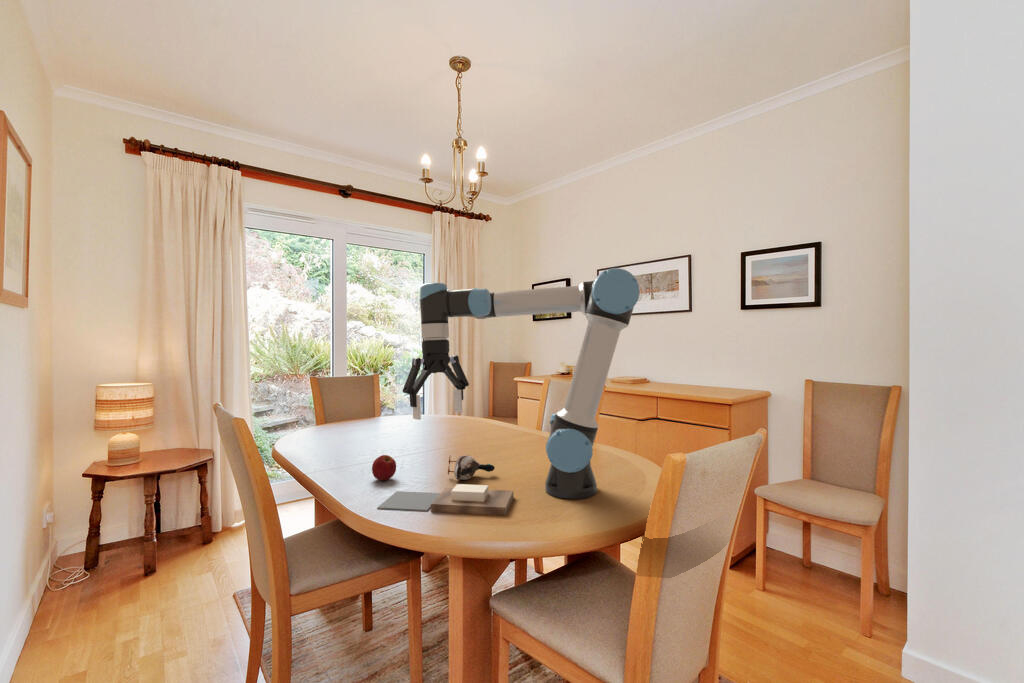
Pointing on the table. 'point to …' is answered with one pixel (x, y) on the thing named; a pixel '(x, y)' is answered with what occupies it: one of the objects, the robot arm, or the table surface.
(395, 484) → the table surface
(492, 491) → the brown wooden board
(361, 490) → the table surface
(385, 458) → the apple
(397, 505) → the mat
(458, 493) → the tile
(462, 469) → the decorative duck model
